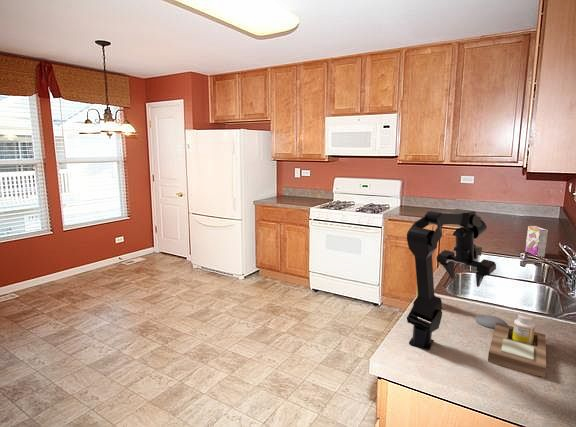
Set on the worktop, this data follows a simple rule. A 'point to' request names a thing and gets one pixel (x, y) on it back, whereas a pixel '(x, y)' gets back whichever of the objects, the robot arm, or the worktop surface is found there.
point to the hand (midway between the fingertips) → (465, 282)
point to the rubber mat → (489, 321)
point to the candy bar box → (536, 240)
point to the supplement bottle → (523, 329)
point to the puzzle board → (518, 351)
